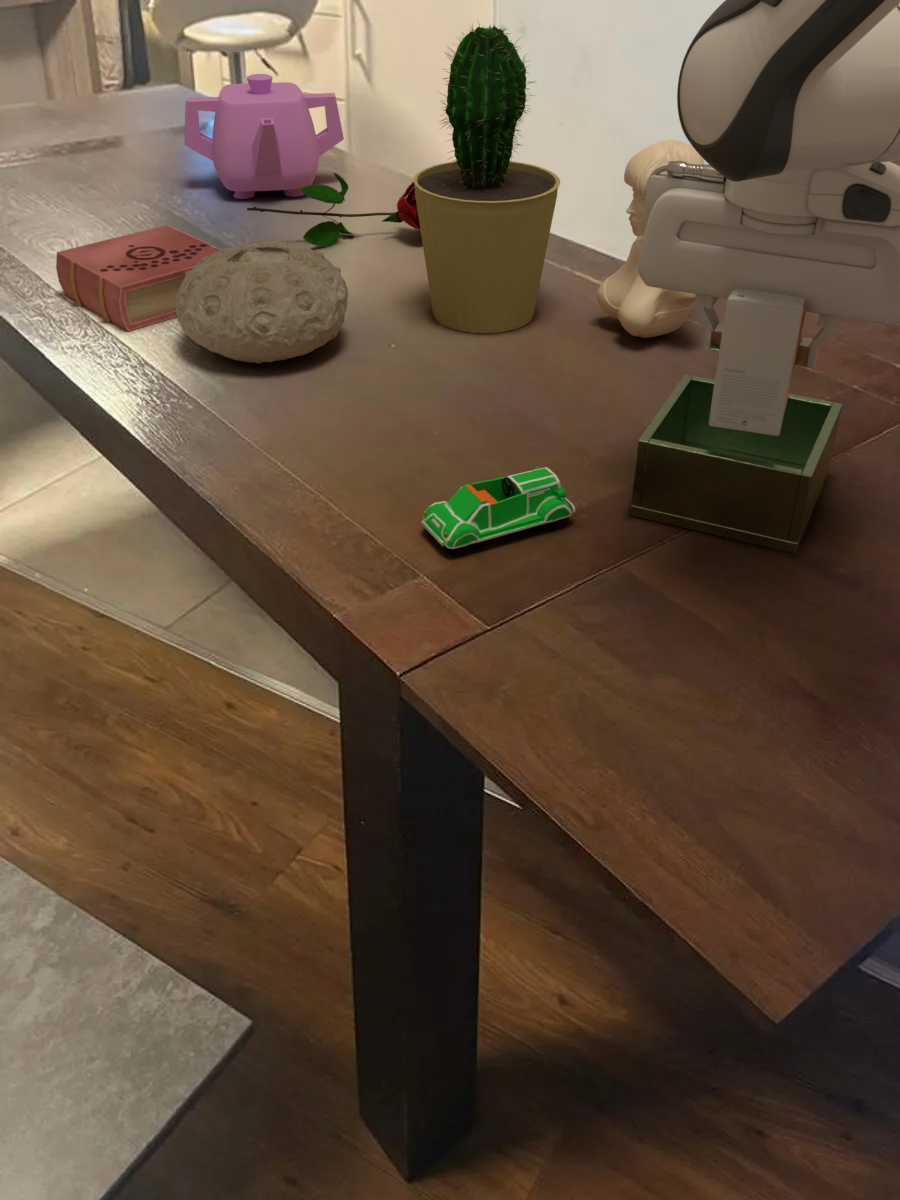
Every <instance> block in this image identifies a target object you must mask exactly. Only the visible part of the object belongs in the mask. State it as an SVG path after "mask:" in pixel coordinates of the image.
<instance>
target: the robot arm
mask: <svg viewBox="0 0 900 1200" xmlns="http://www.w3.org/2000/svg"><path fill="white" fill-rule="evenodd" d="M676 90H677V91H676V92H677V93H676V94H677V95H676V103H677V104H676V105H677V114H678V120H679V124H680V126H681V127H680V128H681V129H682V132H683V134H684V135H685V138H686V139H687V141H688V142H689V144H690V145H691V146H693V148H694V149H695V150H696V151H697V152H698V154H699V155H700V156H701V157H702V158H703V160H704V162H706V163H707V164H705V163H704V165H703V164H700V165H699V164H697V165H696V164H688V163H687V162H684V161H670V162H669V163H668V165H665V166H661V167H659V168H657V169H655V170H654V171H653V172H652V173H651V175H650V176H649V178H648V181H647V184H646V195H645V208H646V211H647V213H648V215H649V219H648V222H647V226H646V230H645V234H644V238H643V242H642V247H641V252H640V258H639V265H638V273H639V275H640V277H641V278H642V280H643V282H644V283H645V285H647V286H650V287H656V288H662V289H668V290H675V291H681V292H687V293H693V294H696V296H695V303H694V307H693V309H694V310H695V312H696V314H697V316H698V318H699V321H700V323H701V325H702V327H703V330H705V331H704V339H703V344H702V345H703V346H702V347H703V350H706V351H714V352H719V350H720V344H721V338H722V331H723V325H724V322H720V320H719V318H718V317H719V316H718V314H717V312H716V309H715V307H714V305H715V304H716V303H717V302H718V300H719V299H724V300H727V299H728V297H729V295H730V294H731V291H732V289H735V288H739V289H750V290H758V291H765V292H772V293H779V294H785V295H791V296H796V297H800V298H804V299H806V304H805V312H806V313H811V314H818V319H817V327H818V328H819V331H817V333H816V334H815V335H814V336H813V337H806V336H802V337H800V342H799V346H798V351H797V356H796V361H795V366H798V367H803V368H810V369H814V368H815V367H816V364H817V362H818V358H819V355H820V349H821V347H822V346H823V345H824V343H825V342H826V341H827V340H828V339H829V338H830V337H831V336H832V335H833V334H834V333H835V332H836V331H837V330H838V329H837V328H838V327H839V324H840V322H841V321H842V319H849V320H854V321H855V320H856V321H862V322H867V323H868V322H869V323H873V324H879V325H887V326H895V325H897V324H898V323H900V165H899V164H897V163H894V162H895V161H897V162H898V161H900V0H724V1H723V2H722V3H721V4H720V5H719V6H718V7H717V8H716V9H715V10H714V11H713V12H712V13H711V14H710V16H709V17H708V18H707V19H706V20H705V22H704V23H703V24H702V25H701V27H700V28H699V30H698V31H697V33H696V34H695V36H694V37H693V39H692V40H691V42H690V44H689V46H688V48H687V50H686V52H685V53H684V57H683V60H682V63H681V66H680V70H679V75H678V81H677V89H676ZM664 171H667V174H668V175H667V174H659V173H661V172H664Z"/></svg>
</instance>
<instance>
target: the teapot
mask: <svg viewBox="0 0 900 1200" xmlns="http://www.w3.org/2000/svg"><path fill="white" fill-rule="evenodd" d="M337 101H338V100H337V97H336V93H335V92H321V93H320V92H319V93H303V91H302V89H301V88H300V87H299V86H298V85H297V84H296V83H293V82H288V81H287V82H286V81H285V82H283V81H281V82H273V76H272V75H270V74H267V73H253V74H249V75H247V76H246V82H245V83H229V84H226V85H223V87H222V88H221V89H220V91H219V94H218V96H201V97H199V96H198V97H185V107H184V108H185V109H184V114H185V115H184V139H183V141H184V146H185V147H187V148H189V149H190V150H192V151H194V152H195V153H197V154H199V155H201V156H203V157H204V158H207V159H208V160H210V161H211V162H212V163H213V166H214V169H215V172H216V174H217V176H218V178H219V179H220V181H221V183H222V185H223V186H224V188H225V189H226V190H229V191H231V192H234V194H233V198H235V199H239V200H245V199H252V198H254V197H255V196H256V195H255V194H256V192H268V191H269V192H270V191H272V192H273V191H283V192H284V195H285V196H287V197H292V198H293V197H295V198H296V197H302V196H304V195H305V194H304V193H303V192H302V191H301V190H300V189H299V188H303V187H305V186H309V185H313V183H314V180H315V178H316V176H317V171H318V168H319V163H320V157H322V156H323V155H324V154H325V153H327V152H329V151H330V150H332V149H333V148H334V147H335V146H337V145H338V144H340V143H341V142H343V140H344V139H345V138H344V131H343V127H342V122H341V118H340V112H339V106H338V102H337ZM321 107H324V112H325V122H326V128H324V129H323V130H321V131H320V132H318V133H317V134H316V129H315V125H314V122H313V118H312V115H311V112H310V109H316V108H321ZM199 111H202V112H211V113H214V119H213V126H212V138H211V137H209V136H207V135H205V134H203V133H201V132H200V131H201V130H200V129H201V128H200V116H199V115H200V113H199ZM305 196H306V195H305Z"/></svg>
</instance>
